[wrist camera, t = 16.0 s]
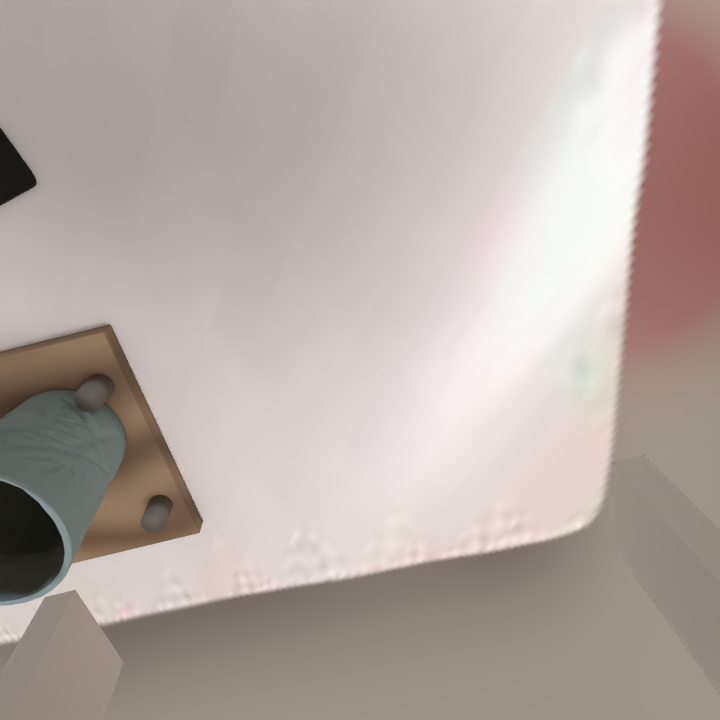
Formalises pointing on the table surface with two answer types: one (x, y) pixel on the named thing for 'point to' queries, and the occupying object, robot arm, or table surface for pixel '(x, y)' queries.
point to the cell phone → (13, 172)
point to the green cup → (51, 487)
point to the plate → (143, 438)
